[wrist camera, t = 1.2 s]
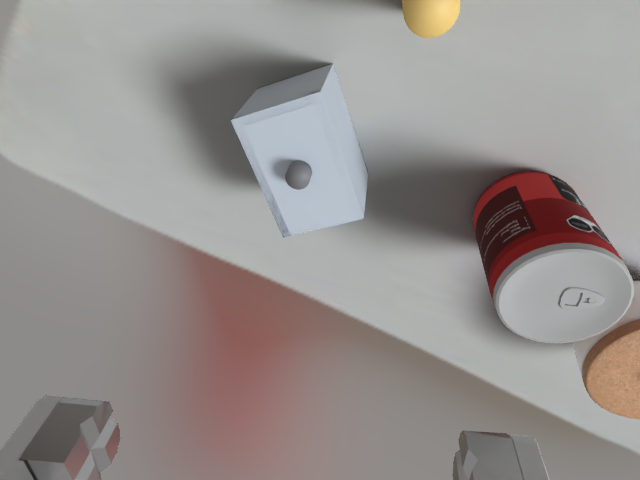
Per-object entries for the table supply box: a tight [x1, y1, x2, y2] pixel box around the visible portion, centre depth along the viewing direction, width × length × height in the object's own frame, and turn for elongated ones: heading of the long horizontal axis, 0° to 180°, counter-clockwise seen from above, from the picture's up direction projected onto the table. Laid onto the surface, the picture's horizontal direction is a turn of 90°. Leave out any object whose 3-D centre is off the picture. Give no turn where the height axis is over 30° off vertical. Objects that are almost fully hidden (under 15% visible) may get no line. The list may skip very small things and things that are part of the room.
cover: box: [231, 64, 368, 237], centre depth 33 cm, size 6×9×8 cm, turn 19°
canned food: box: [473, 171, 634, 343], centre depth 33 cm, size 8×8×11 cm
